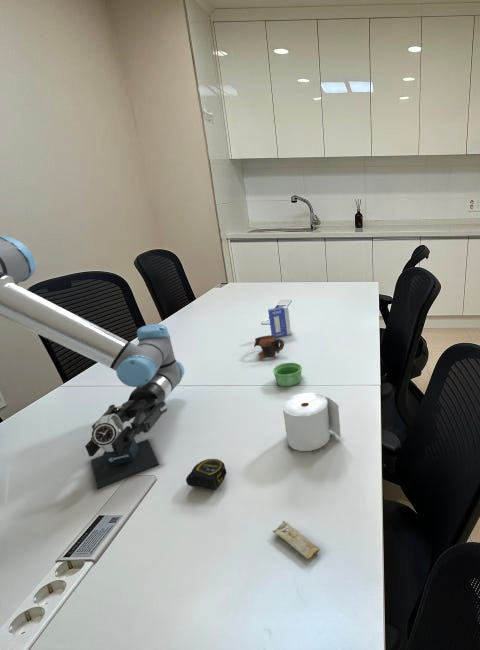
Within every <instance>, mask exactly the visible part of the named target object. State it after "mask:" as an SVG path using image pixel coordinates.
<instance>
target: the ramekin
mask: <svg viewBox="0 0 480 650" xmlns="http://www.w3.org/2000/svg"><path fill="white" fill-rule="evenodd" d="M302 369H303V367H302V365H301V364H300V363H297V362H283V363H280V364H278V365H276V366H274V367H273V369H272V372H273V375H274V379H275V383H276V384H277V385H278V386H281V387H292V386H295V385H298V384H299V383H300V382H301V380H302Z"/></svg>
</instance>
